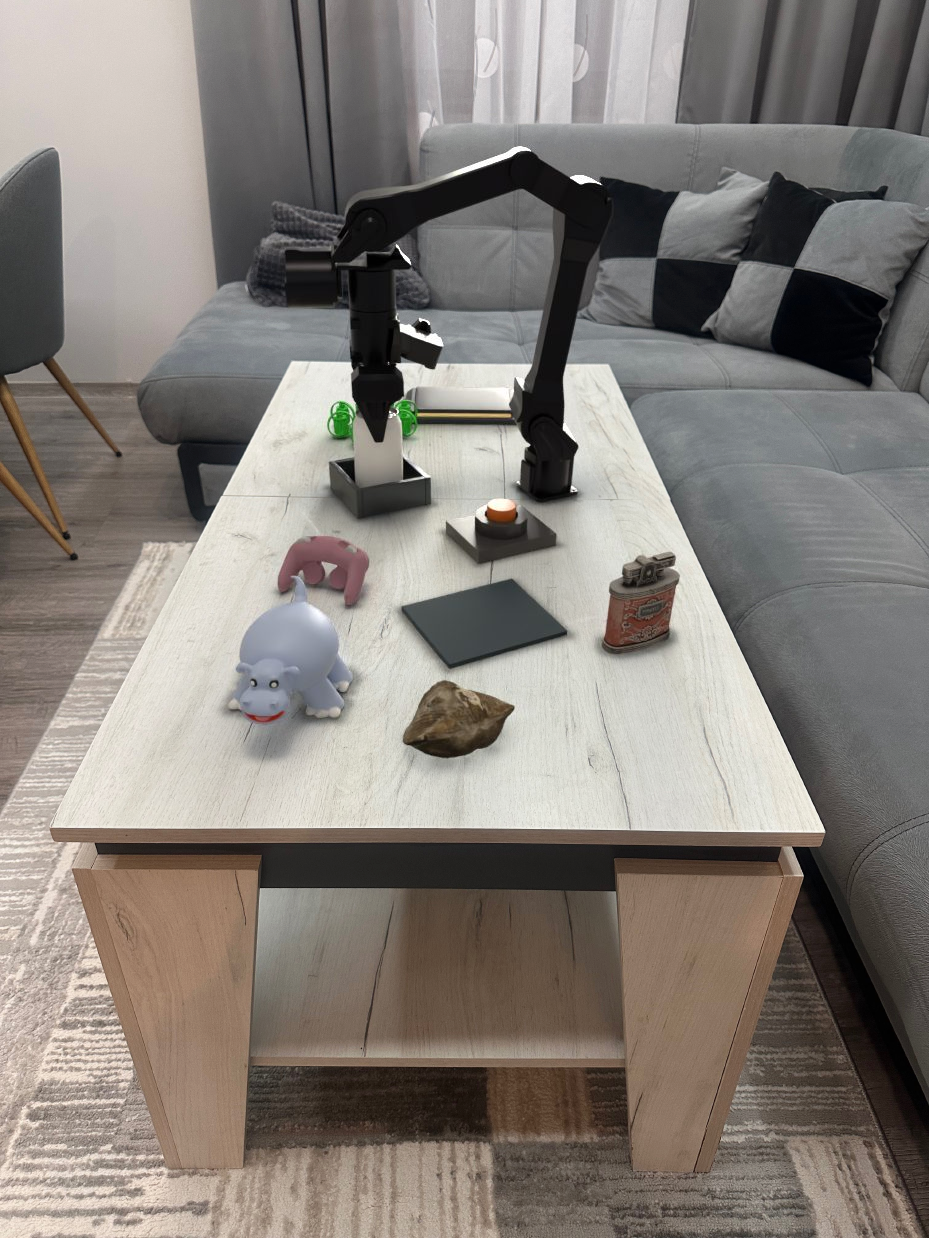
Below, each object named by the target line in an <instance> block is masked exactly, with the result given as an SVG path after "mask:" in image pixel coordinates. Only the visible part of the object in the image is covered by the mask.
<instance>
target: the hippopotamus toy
mask: <svg viewBox="0 0 929 1238" xmlns="http://www.w3.org/2000/svg"><path fill="white" fill-rule="evenodd" d="M291 578H294V579H295V581H296V586H295V591H294V596H293V597H294V599H293V601H289V602H283V603H280V604H277V605H275V606H274V607H272V608H270V609H268V610H266V611H265V612H263V613H261V614H260V615H259V616H258V617H257V618H255V620H254V621H253V622H252V623H251V624H250V625H249V626H248V628H247V630H246V631H245V632H244V635H243V637H242V640H241V643H240V647H239V663H237V664H236V666H235V671H236V672H237V673H238V674H242V673H243V675H242V677H241V679H240V681H239V683H238V684H237V686H236V688H235V690H234V692H233V694H232V696H231V701H229V702H228V704H227V708H228V709H229V710H239V711H241V712H242V715H243V717H244V719H246V720H247V721H248V722H250V723H252V724H255V725H259V726H272V725H275V724H277V723H280V722H281V721H283V720H284V719H285V718H286V716H287V715H288V713H289V711H290V707H291V701H290V699H291V697H292V693H298V695H299V696H300V697H301V698H302V700H303V701H304V702H305V704H306V706H307V707H306V709H305V713H306V715H307V716H315V717H316V718H319V719H323V718H327V717H330V718H334V719H335V718H338V717H339V716H341V710H343V708H344V706H345V701H344V699H343V697H342V696H341V695H340V694H339V692H341V693H344V692H347V691H348V689H349V686H350V684H351V683H352V682H353V679H354V675H353V673H352V672H351V670H350V669H349V668H348V666H347V665H346V663H345V662H344V660H343V658H341V655H339V650H340V649H339V647H340V640H339V634H338V632H337V629H336V626H335V625H334V624H333V622H332V621H331V620H330V618H329V617H328V616H327V615H326V614H325V613H324V612H322V611H321V609H318V607H316V606H314V605H312V604H310V603H308V593H307V588H306V584H305V583H304V581H303V579H302V578H301V577H299V575H298V576H291ZM338 691H339V692H338Z"/></svg>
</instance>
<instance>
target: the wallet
mask: <svg viewBox="0 0 929 1238" xmlns="http://www.w3.org/2000/svg"><path fill="white" fill-rule="evenodd" d="M513 393H514V388H509V387H491V386H489V387H486V386H483V387H481V386H479V387H477V386H476V387H475V386H416V387H412V388H411V389H408V391H406V396H405V400H410V401H412V402H413V403H414V404H415V405H416V407H417V410H418V414H417V418H416V420H417V425H419V424H420V425H421V424H425V425H427V424H428V425H429V424H435V425H436V424H437V425H438V424H439V425H440V424H442V425H443V424H445V425H447V424H448V425H453V424H454V425H517V424H516V422H515V420H514V418H513V413H512V411H511V409H510V407H509V402H510V401H511V399H512V397H513ZM407 404H409V405H410V408H411V411H412V414H413V415H414V416H415V413H416V410H415V406H414V405H413V404H412V403H410V402H407ZM412 420H413V418H412ZM412 424H415V422H413V423H412Z"/></svg>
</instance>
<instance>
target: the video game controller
mask: <svg viewBox="0 0 929 1238" xmlns="http://www.w3.org/2000/svg"><path fill="white" fill-rule="evenodd" d="M323 563H327V564H330V565H335V566H336V567H335V568H334V569H332V570H331V571H330V572H329V575H328V584H329V585H330V586H331V587H332V588H334V589H336V590H343V589H344V590H343V591H344V592H343V595H344V596H343V599H344V602H345V604H346V605H347V606H352V605H354V603H356V601H357V600H358V598H359V596H360V594H361V592H362V589H363V586H364V581H365V578H366V574H367V572H368V570H369V567H370V557H369V555H368V553H367V552H365V550H363V549H362V548H360V547H357V546H356V545H355V544H354V543H351V542H350V541H348V540H345V539H342V538H340V537H335V536H330V535H307V536H303V537H300V538H297V539H296V540H295V541H294V542H293V543H292V544H291V545H290V546H289V549H288V551H287V552H286V555H285V557H284V559H283V562H282V565H281V567H280V569H279V573H278V575H277V588H278V590H279V591H280V592H282V593H283V592H286V591H288V590H289V589H290V588H291V586H292V585H293V584H294V582H295V581H296V579H294V578H291V576H298V577H299V574H300V571H301V572H302V574H303V577H304V579H305V581H306V582H307V583H308V584H310V585H311V584H312V585H314V584H321V583H323V582H324V580H325V579H326V569H325V566H324V565H323Z"/></svg>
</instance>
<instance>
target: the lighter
mask: <svg viewBox="0 0 929 1238" xmlns="http://www.w3.org/2000/svg"><path fill="white" fill-rule="evenodd" d="M676 559H677V556H676V555H675V553H674V552H673V551H671V550H670V551H666V552H662V553H657V554H653V555H652V556H649V557H647V556H646V555H644V554H641V555H638V556H636V557H635V559H634V560H633V561H630V562H627V563H623V565H622V569H621V575H622V576H620V577H618V578H615V579H613V580H612V581H610V583H609V586H608V593H609V600H608V609H607V616H606V624H605V632H604V636H602V640H601V648H602V649H603V651H605V652H606V653H608V654H610V655H615V656H619V655H625V654H631V653H635V652H639V651H644V650H647V649H649V648H653V647H655V646H657V645H660V644H662V643H664V642H665V641H667V640H668V639H669V638H670V634H671V627H670V625H671V619H672V613H673V606H674V601H675V595H676V589H677V586H678V585H679V583H680V578H681V575H680V573H679V572H678V571H677V570H675V569H673V568H671V567H675V565H676Z"/></svg>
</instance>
